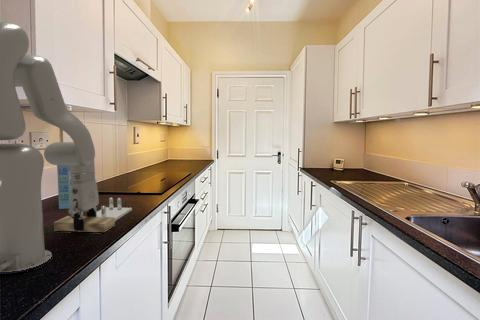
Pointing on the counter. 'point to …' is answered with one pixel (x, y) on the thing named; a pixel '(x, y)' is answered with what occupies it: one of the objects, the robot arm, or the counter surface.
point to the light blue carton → (64, 186)
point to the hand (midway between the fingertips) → (85, 225)
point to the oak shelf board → (86, 224)
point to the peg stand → (113, 210)
